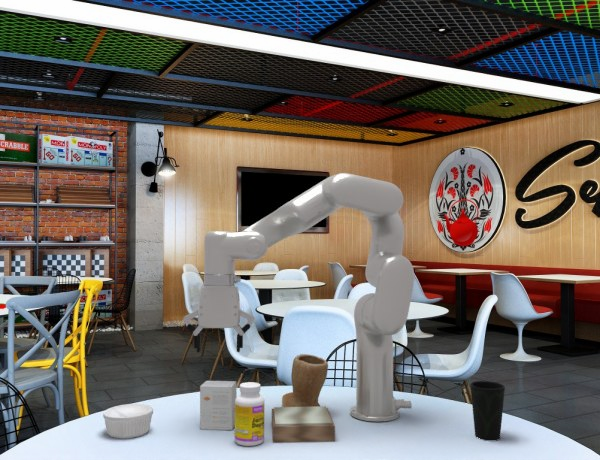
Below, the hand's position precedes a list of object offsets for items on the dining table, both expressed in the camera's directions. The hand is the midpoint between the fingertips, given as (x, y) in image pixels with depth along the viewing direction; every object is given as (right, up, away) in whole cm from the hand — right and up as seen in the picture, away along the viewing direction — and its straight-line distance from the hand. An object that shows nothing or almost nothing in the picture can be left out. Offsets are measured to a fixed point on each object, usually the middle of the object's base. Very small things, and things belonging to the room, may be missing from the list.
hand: (218, 351), depth 141 cm
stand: (+20, -18, -4) cm, 28 cm away
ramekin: (-21, -18, -5) cm, 28 cm away
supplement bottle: (+9, -18, -11) cm, 23 cm away
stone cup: (+21, -19, +12) cm, 31 cm away
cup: (+64, -19, -7) cm, 67 cm away
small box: (0, -19, 0) cm, 19 cm away
